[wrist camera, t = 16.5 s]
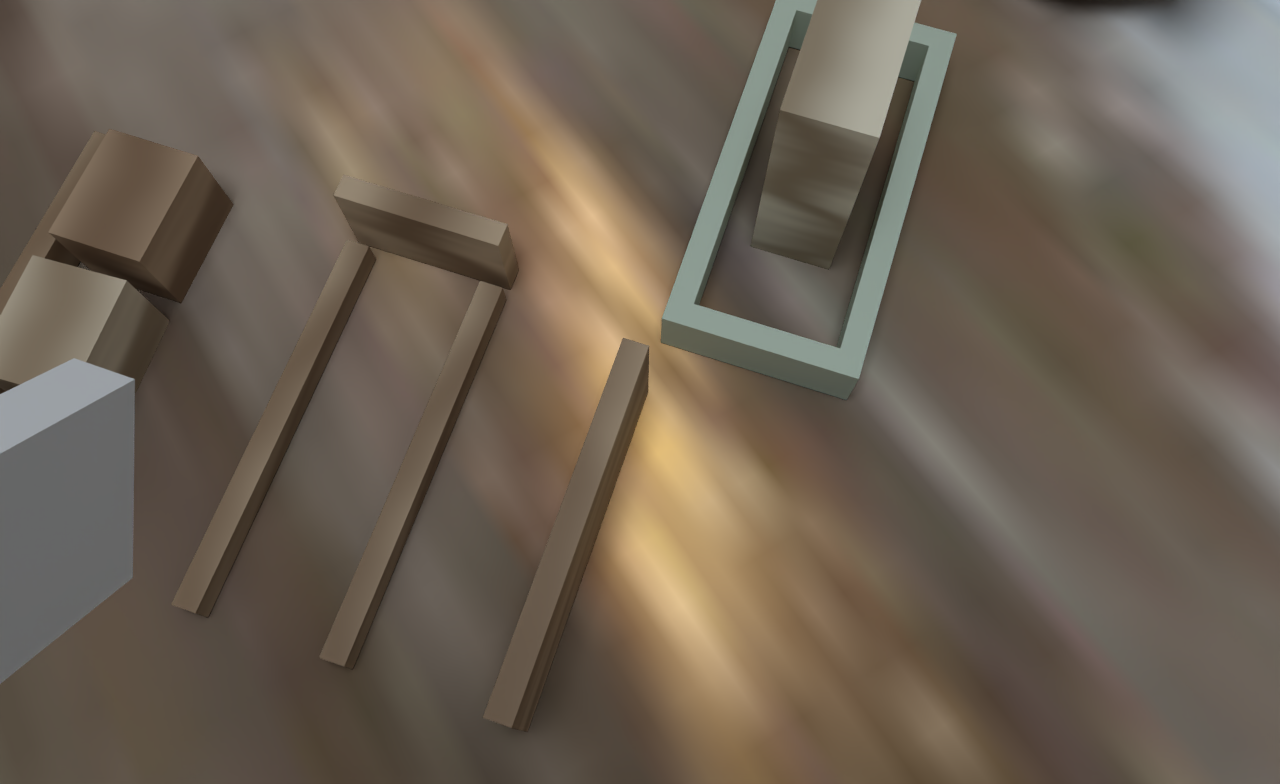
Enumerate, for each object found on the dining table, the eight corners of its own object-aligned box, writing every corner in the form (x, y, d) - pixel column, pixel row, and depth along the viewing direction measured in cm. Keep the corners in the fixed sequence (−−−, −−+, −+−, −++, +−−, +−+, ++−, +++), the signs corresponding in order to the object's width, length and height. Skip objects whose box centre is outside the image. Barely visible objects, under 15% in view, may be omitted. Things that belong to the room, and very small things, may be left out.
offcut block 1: (234, 205, 46) (198, 155, 42) (182, 304, 44) (139, 261, 40) (152, 180, 46) (109, 128, 42) (98, 277, 45) (48, 232, 41)
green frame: (941, 69, 48) (956, 33, 46) (846, 400, 42) (858, 379, 40) (774, 24, 49) (780, -14, 46) (660, 342, 43) (662, 318, 41)
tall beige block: (863, 154, 46) (920, 0, 37) (829, 269, 45) (879, 137, 35) (788, 133, 47) (826, -25, 37) (750, 246, 45) (779, 109, 35)
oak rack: (674, 317, 44) (678, 263, 39) (517, 759, 38) (500, 759, 33) (122, 147, 47) (63, 78, 42) (-104, 534, 41) (-202, 505, 36)
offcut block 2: (170, 321, 44) (126, 280, 40) (119, 430, 42) (68, 398, 38) (84, 298, 44) (32, 255, 40) (30, 405, 43) (-30, 370, 39)
